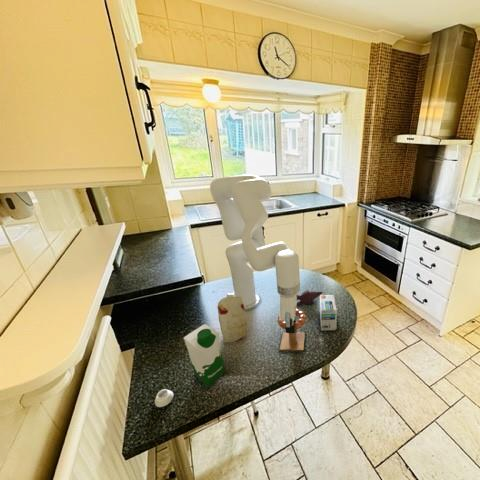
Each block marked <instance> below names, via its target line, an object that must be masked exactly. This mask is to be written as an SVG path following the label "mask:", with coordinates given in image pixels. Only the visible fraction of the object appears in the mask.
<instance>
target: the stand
mask: <svg viewBox="0 0 480 480" xmlns="http://www.w3.org/2000/svg"><path fill="white" fill-rule="evenodd" d="M305 336H306V331H297V329H296V330H295V333H286V331H282V335H281V339H280V346H279V351H304V350H305Z"/></svg>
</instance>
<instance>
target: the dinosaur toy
mask: <svg viewBox="0 0 480 480" xmlns="http://www.w3.org/2000/svg"><path fill="white" fill-rule="evenodd" d="M323 294H324V292H323V291H309V290H308V289H306V290H305V291H303V292H302V293H301V294H300V295H298V294H297V307H300V306H302V305H312V304H313V301H315V300H316V299H317V298H318V297H320V295H323Z"/></svg>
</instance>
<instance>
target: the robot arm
mask: <svg viewBox="0 0 480 480" xmlns="http://www.w3.org/2000/svg"><path fill="white" fill-rule="evenodd" d="M209 191H210V195H211V197H212V199H213V201H214V203H215V204H216V206H217V208H218V211H219V215H220V219H221V223H222V227H223V231H224V232H223V233H224V235H225V237H226V239H227V240H228V241H231V242H232V241H233V242H234V241H237V242H234V243H231V244H229V245H228V246H227V247H226V248H225V257H226V259H227V262H228V265H229V271H230V274H231V275H230V276H231V280H232V281H231V282H232V286H233V293H226V297H229V296H231V297H241V298H242V300H243V304H244V308H245V310H246V309H251V308H253V307H254V306H256V305H258V303H259V302H260V301H261V299H260V298H261V297H260V296H259V294H257V293H256V292H257V291H256V285H255V277H254V271H256V272H263V271H267V270H269V269H272V268H274V267H275V279H276V289H277V291H276V292H277V294H278V295H279V314H280V320H281V321H284V320H285V329H284V330H285V332H286V333H295V324H294V323H295V322H297V319H296V315H295V314H296V309H297V307H298V306H297V302H298V300H297V295H298V294H299V293H300V291H301V282H300V256H299V254H298V252H296V251H294V250H292V249H291V248H290V246H289V245H288V244H287V243H286V242H284V241H278V242H277V241H276V242H274V243H271V244H267V245H266V239H265V235H264V230H263V226H262V225H264V224H265V223H266V222H267V221H268V218H269V214H268V211H267V210H266V208H265V206H264V204H263V203H262V202H266V201H268V200H270V199H271V197H272V189H271V185H270V184H269V182H268V181H267V180H266V179H264V178H263V177H260V176H258V175H254V174H239V175H230V176H224V177H218V178H215V179H213V180H212V181H211V182H210V185H209ZM238 240H240V241H238ZM248 263H249V264H248Z"/></svg>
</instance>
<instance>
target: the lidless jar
mask: <svg viewBox="0 0 480 480" xmlns="http://www.w3.org/2000/svg"><path fill="white" fill-rule="evenodd" d="M173 399H174V392H173V391H172V390H170V389H167V388H163V389H161V390H159V391H158V392H157V394H156V397H155V398H154V405H155V406H156V407H157V408H163V407H165V406H167V405H169V404H170V403H171V402H172V400H173Z"/></svg>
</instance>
